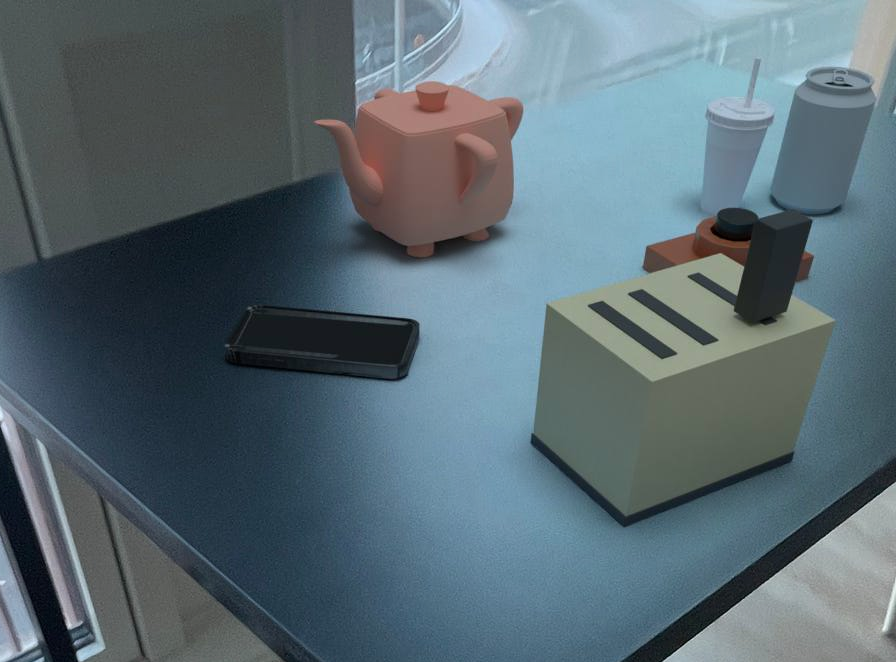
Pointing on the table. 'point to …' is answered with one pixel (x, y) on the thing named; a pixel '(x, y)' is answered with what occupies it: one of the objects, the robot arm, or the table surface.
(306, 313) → the phone
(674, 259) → the control block
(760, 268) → the toaster slider
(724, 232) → the button
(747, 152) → the smoothie
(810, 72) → the can
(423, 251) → the teapot
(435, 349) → the table surface
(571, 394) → the toaster
